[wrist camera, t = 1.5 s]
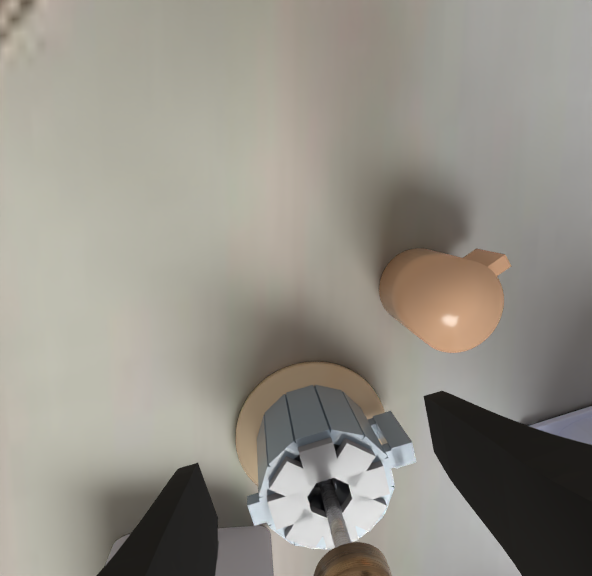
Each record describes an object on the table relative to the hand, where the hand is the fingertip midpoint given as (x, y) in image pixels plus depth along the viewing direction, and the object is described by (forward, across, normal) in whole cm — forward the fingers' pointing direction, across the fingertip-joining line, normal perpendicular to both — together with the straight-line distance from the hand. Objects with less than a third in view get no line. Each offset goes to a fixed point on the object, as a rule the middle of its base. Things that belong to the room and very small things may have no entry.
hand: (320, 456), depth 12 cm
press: (+10, 0, +6) cm, 12 cm away
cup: (+10, -8, -1) cm, 13 cm away
